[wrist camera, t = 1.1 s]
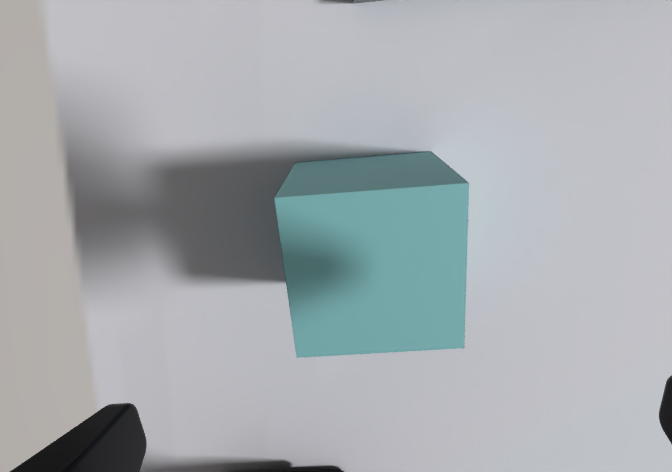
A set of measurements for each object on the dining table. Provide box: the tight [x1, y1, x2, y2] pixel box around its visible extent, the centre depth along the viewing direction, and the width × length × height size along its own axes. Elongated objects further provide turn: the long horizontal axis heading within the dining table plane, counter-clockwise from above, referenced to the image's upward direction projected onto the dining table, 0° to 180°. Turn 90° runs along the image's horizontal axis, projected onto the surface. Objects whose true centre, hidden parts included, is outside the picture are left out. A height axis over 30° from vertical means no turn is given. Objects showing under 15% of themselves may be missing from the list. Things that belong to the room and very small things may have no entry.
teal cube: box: [274, 152, 469, 358], centre depth 14 cm, size 5×5×5 cm
